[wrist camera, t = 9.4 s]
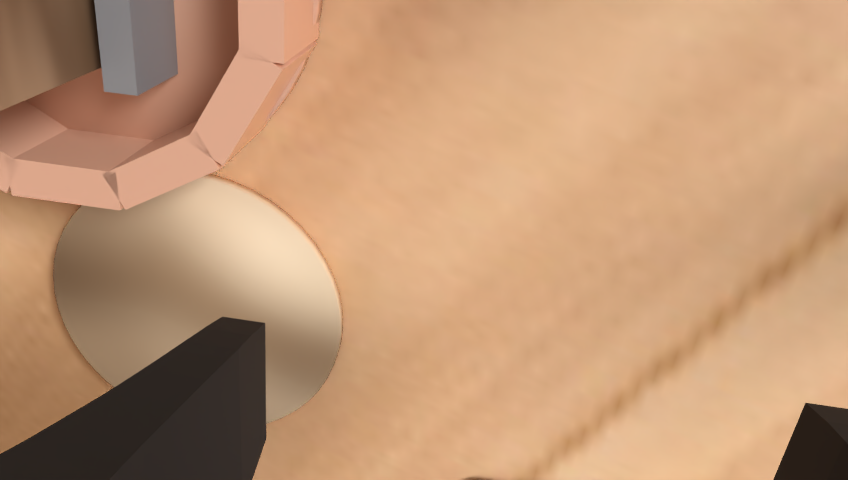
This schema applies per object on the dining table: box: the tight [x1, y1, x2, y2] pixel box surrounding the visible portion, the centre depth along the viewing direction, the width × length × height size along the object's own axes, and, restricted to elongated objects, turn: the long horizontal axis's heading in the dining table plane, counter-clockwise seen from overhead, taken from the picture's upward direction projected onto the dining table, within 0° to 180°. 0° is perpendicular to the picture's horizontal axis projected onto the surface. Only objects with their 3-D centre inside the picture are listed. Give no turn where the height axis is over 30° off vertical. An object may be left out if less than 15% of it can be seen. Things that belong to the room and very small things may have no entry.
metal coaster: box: [53, 174, 343, 424], centre depth 22 cm, size 9×9×1 cm
